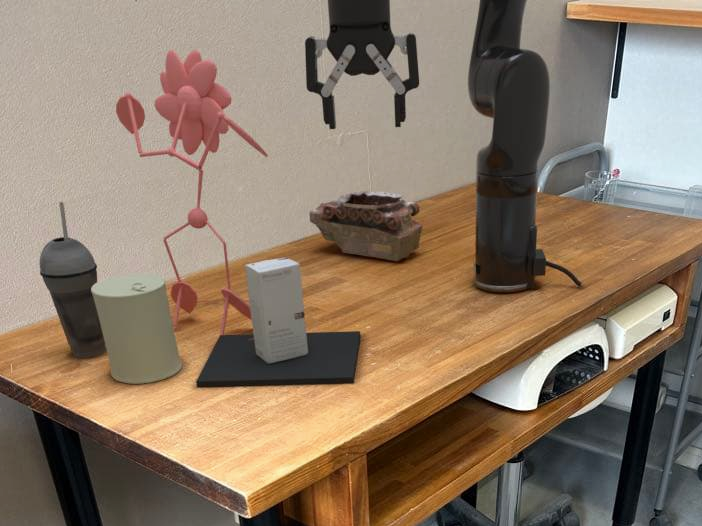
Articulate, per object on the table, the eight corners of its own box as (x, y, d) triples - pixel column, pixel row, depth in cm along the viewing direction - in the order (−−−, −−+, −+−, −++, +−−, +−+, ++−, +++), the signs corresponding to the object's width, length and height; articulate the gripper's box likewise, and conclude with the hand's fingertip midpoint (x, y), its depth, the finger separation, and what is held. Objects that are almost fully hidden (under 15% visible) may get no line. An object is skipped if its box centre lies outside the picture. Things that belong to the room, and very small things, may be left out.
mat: (360, 336, 121) (360, 330, 121) (353, 383, 108) (353, 377, 108) (220, 340, 122) (219, 334, 122) (196, 387, 109) (195, 381, 108)
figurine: (264, 345, 117) (227, 51, 99) (130, 321, 129) (75, 54, 110) (329, 314, 128) (306, 44, 110) (200, 294, 140) (160, 48, 121)
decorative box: (382, 273, 145) (379, 213, 140) (296, 255, 155) (290, 199, 150) (427, 253, 154) (426, 197, 148) (343, 238, 164) (339, 184, 158)
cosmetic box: (269, 365, 112) (257, 272, 105) (254, 355, 115) (241, 264, 108) (310, 354, 114) (301, 263, 108) (295, 344, 118) (285, 255, 111)
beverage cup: (69, 343, 123) (30, 197, 112) (120, 340, 123) (87, 194, 112) (56, 363, 117) (14, 211, 106) (110, 360, 117) (74, 208, 106)
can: (138, 390, 109) (116, 297, 102) (97, 372, 114) (74, 283, 107) (196, 366, 114) (179, 277, 107) (155, 351, 119) (136, 264, 113)
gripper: (294, -18, 99) (308, 134, 109) (416, -23, 99) (420, 130, 108) (301, -20, 106) (314, 124, 115) (416, -24, 105) (420, 120, 114)
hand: (365, 127), depth 112 cm, fingers open, 8 cm apart
